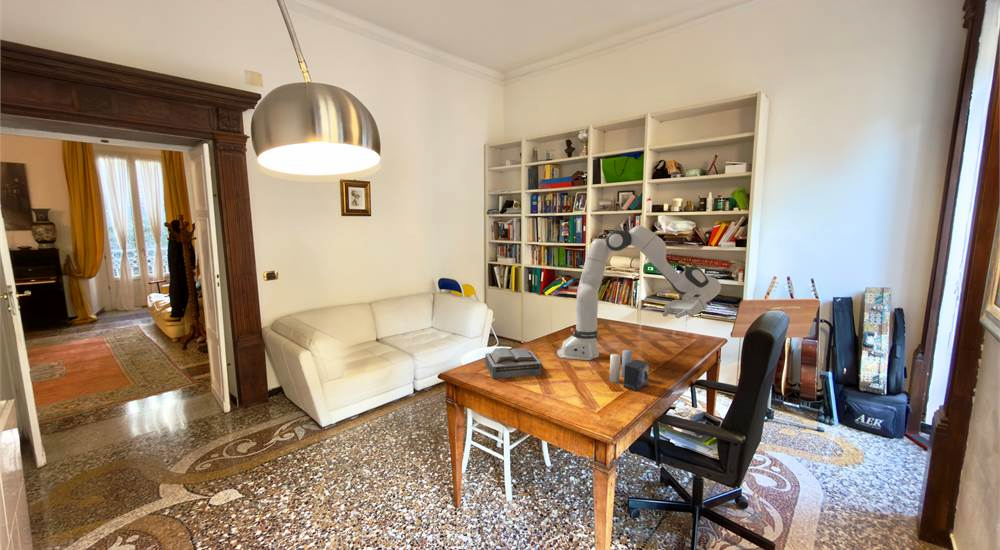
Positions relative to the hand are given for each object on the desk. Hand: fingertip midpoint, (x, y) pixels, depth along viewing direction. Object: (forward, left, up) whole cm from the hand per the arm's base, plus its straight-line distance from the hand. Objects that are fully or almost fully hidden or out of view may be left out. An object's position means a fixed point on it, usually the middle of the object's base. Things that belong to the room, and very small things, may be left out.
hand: (669, 316), depth 186 cm
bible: (-73, +4, -29) cm, 79 cm away
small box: (-19, -14, -29) cm, 37 cm away
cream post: (-27, -8, -28) cm, 40 cm away
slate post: (-20, -2, -28) cm, 35 cm away
